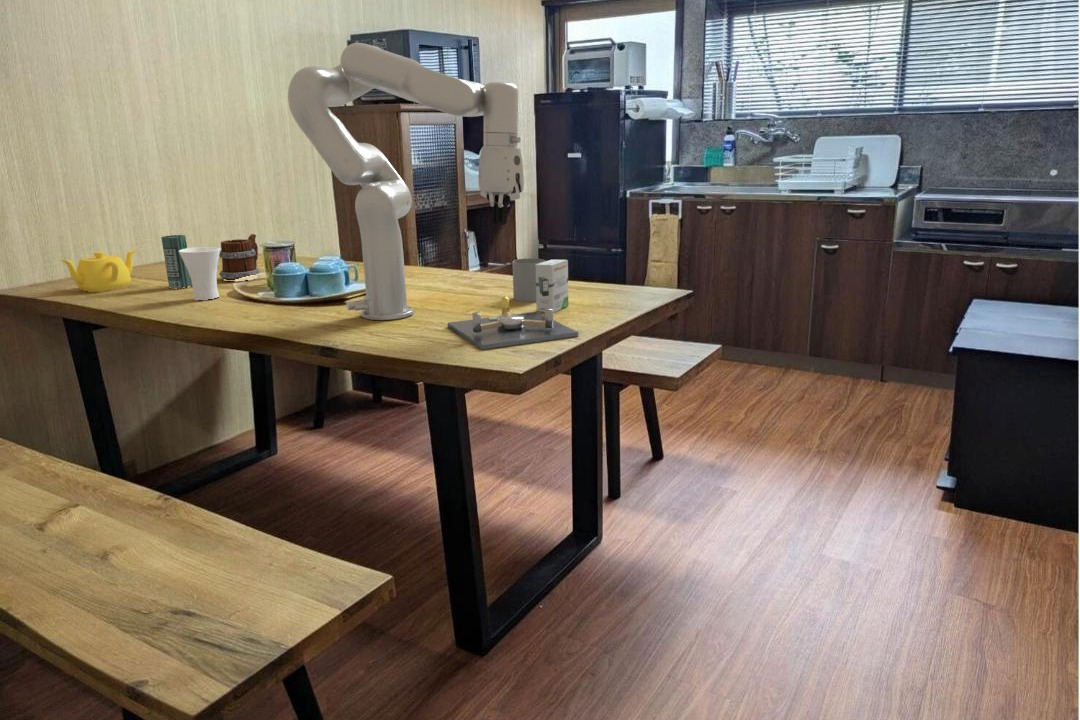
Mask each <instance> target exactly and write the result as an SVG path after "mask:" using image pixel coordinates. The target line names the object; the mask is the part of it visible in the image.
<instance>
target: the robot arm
mask: <svg viewBox="0 0 1080 720" xmlns="http://www.w3.org/2000/svg"><path fill="white" fill-rule="evenodd" d="M339 59H340V60H339V63H340V64H339V65H336V66H335V67H332V68H327V67H322V66H316V65H315V66H312V65H311V66H306V67H303V68H300V69H299V70H298V71H297V72H295V73H294V74H293V76H292V77H291V80H290V82H289V85H288V91H287V101H288V102H287V103H288V107H289V108H288V109H289V111H290V113H291V116H292V117H293V119H294V122H295V123H296V124H297V126H298V127H299V129H300V130H301V132H303V135H305V137H306V138H307V139H308V140H309V142H310V143H311V144H312V145H313V147H314V149H315V150H316V151H317V153H318V154H319V156H320V157H321V158H322V160H323V161H324V162H325V164H326V166H328V169H330V170H331V172H332V173H333V175H334V176H335V177H336V179H338V180H339V181H340V182H341V183H342V184H345V185H346V186H358V185H360V186H361V189H360V190H359V191H358V193H357V195H356V198H355V202H354V203H355V206H354V208H355V214H356V219H357V223H358V227H359V233H360V239H361V240H360V241H361V249H362V251H361V252H362V261H363V264H362V265H363V272H364V273H363V274H364V285H365V295H366V296H365V295H364V296H362V297H363V298H362V299H360V300H359V301H349V302H346V307H347V311H360V315H361V317H362V318H363V319H366V320H373V321H388V320H389V321H391V320H398V319H403V318H404V319H405V318H407V317H410V316H412V315H413V314H414V313H415V312H414V308H413V306H410V305H408V303H407V301H408V300H407V290H406V275H405V259H404V248H403V237H402V231H401V228H400V223H399V219H401V218H404V217H406V215H407V214H409V212H410V210H411V208H412V204H413V197H412V194H411V190H410V189H409V187H408V185H407V184H406V183H405V181H404V180H403V179H402V177H401V176H400V175H399V174H398V172H397V171H396V169H395V168H394V166H393V165H392V163H390V161H389V160H388V158H387V157H386V156H385V155H384V153H383V152H382V151H381V150H380V149H379V148H377V147H376V146H375V145H372V144H371V143H368V142H358V141H357V140H356V139H355V138H354V136H353V135H352V134H351V133H350V131H349V130H348V129H347V128H346V126H345V124H344V123H343V122H342V121H341V119H339V118H338V117H337V116H336V115H335V114H334V113H333V112H332V111H331V108H332V107H333V108H336V107H341V106H344V105H346V104H348V103H350V102H352V101H354V100H356V99H358V98H359V97H362V96H363V95H365V94H366V93H368V92H370V91H373V89H376V90H379V91H381V92H385V93H388V94H390V95H392V96H396V97H398V98H402V99H404V100H406V101H409V102H414V103H417V104H420V105H422V106H424V107H428V108H431V109H433V110H436V111H440V112H443V113H445V114H449V115H452V116H455V117H467V118H473V117H481V116H483V146H482V147H481V150H480V156H479V164H478V178H477V179H478V188H479V190H480V192H479V193H480V196H481V197H483V198H485V199H487V200H488V202H489V206H490V207H491V208H492V210H491V211H492V214H491V215H492V216H491V217H492V225H493V226H502V225H503V226H504V225H507V223H508V222H507V221H508V208H509V207H510V206H511V205H510V204H511V203H512V201H516V200H520V199H521V193H522V192H523V191H524V184H525V183H524V182H525V181H524V180H525V179H524V162H523V157H522V152H521V148H519V147H518V144H519V143H521V141H522V140H521V137H520V136H518V125H519V124H518V123H519V121H518V120H519V119H518V118H519V116H518V115H519V114H518V113H519V89H518V86H517V85H516V84H515V83H512V82H503V81H502V82H500V81H498V82H493V81H492V82H487V83H481V82H477V81H471V80H467V79H461V78H458V77H456V76H455V77H454V76H451V75H448V74H446V73H443V72H439V71H437V70H434V69H430V68H428V67H425V66H423V65H422V64H420V62H418V61H417V60H416V59H415V60H414V59H412V58H410V57H405V56H403V55H399V54H397V53H394V52H390V51H387V50H384V49H382V48H380V47H378V46H376V45H373V44H372V45H371V44H367V43H364V42H353V43H351V44H349V45H347V46H346V47H345V48H344V50H342V52H341V55H340V58H339ZM330 107H331V108H330Z"/></svg>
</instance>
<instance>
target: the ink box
mask: <svg viewBox="0 0 1080 720" xmlns="http://www.w3.org/2000/svg"><path fill="white" fill-rule="evenodd" d="M535 266H536V312H542V313H545V309H547V308H552V309H553V314H555V313H556V312H558V311H560V310H563V309H565V308H566V307H569V260H568V259H550V260H545V262H542V263H539V264H536V265H535Z"/></svg>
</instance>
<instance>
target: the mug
mask: <svg viewBox="0 0 1080 720" xmlns="http://www.w3.org/2000/svg"><path fill="white" fill-rule="evenodd" d="M256 238H257V234H255V233H253V234H250V235H249V236H248V238H247V239H243V238H242V239H231V240H230V239H228V240H222V241H221V242H220V248H221V249H220V254H219V258H221V264H222V265H221V266H222V270H220V272H219V273H218V274H219V276H220V278H222V280H223V279H226V280H235V279H239V278H242V277H246V276H250V275H256V274H258V273H261V272H260V269H259V267H257V260H258V256H259V255H258V254H259V248H258V244H257V243H256Z"/></svg>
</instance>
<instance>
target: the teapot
mask: <svg viewBox="0 0 1080 720" xmlns="http://www.w3.org/2000/svg"><path fill="white" fill-rule="evenodd" d="M136 251H137V249H133V250H130V251H127V253H126V256H125V262H124V260H123V259H122V258H121V257H120V256H119V255H118V256H117V255H105V251H95V252H93V255H94V256H91V257H84V258H80V259H79V261H78V264H77V268H76V266H75V265H74V262H73V261H71V260H69V259H60V261H61V262H63V263H64V264H66V266H67V268H68V272H69V275H70V277H71V279H72V280H73V282H75V283H76V286H77V287H78V289H80V290H81V291H82V290H83V291H82V292H85V291H88V292H87V293H91V292H96V293H102V292H101V291H106V292H109V291H108V290H113V289H118V288H123V287H126V286H129V285H130V286H131V283H132V277H131V274H132V272H133V268H134V267H133V255H134V253H136ZM130 286H129V287H130ZM123 289H124V288H123ZM118 290H119V289H118ZM113 291H114V290H113Z"/></svg>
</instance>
